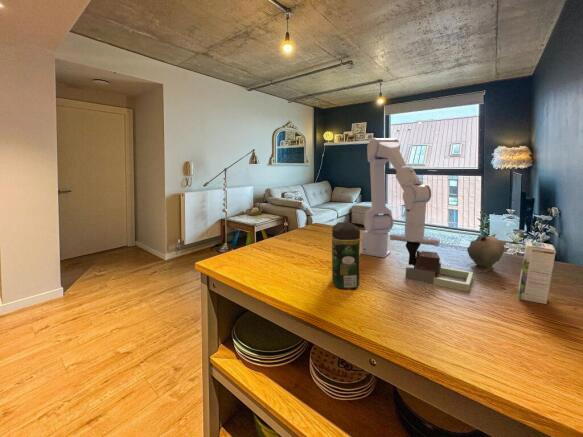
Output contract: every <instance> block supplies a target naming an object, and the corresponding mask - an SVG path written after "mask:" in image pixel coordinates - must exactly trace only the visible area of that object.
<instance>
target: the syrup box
mask: <svg viewBox="0 0 583 437" xmlns="http://www.w3.org/2000/svg"><path fill="white" fill-rule="evenodd" d="M555 257H556V248H555V246H554V245H553V244H550V243H544V242H537V241H526V242H525V245H524V252H523V257H522V264H521V269H520V277H519V282H518V290H517V295H518V299H519V300H520V301H526V302H530V303H531V302H533V303H539V304H542V305H547V303H548V298H549V293H550V286H551V281H552V277H553V276H552V275H553V270H554V263H555V259H556V258H555Z"/></svg>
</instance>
